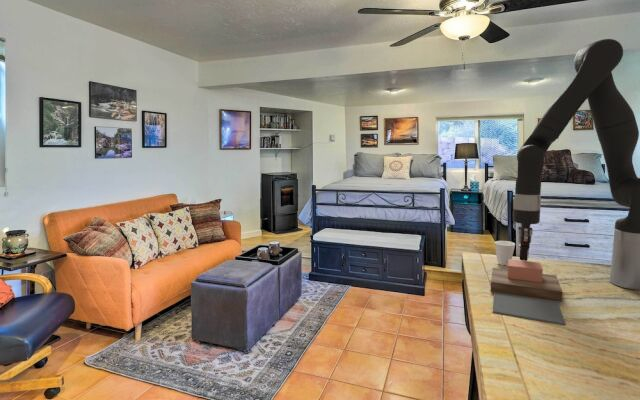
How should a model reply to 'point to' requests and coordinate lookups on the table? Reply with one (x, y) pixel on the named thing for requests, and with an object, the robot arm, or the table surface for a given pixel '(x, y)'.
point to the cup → (504, 251)
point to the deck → (526, 286)
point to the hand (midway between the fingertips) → (523, 259)
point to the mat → (528, 308)
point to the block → (525, 270)
